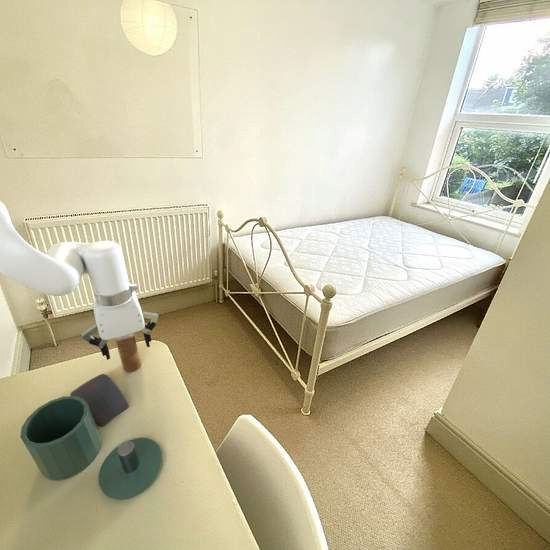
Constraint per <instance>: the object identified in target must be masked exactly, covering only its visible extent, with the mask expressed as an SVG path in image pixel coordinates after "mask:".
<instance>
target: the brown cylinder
mask: <svg viewBox="0 0 550 550" xmlns="http://www.w3.org/2000/svg"><path fill="white" fill-rule="evenodd" d="M114 339H115V344H116V348H117V352H118V354H119V358H120V362H121V365H122V369H123V371H124V372H126V373H133V372H137V371H138V370H139V369H140V368H141V366H142V361H141V356H140V352H139V349H138V345H137V340H136V336H135V333H131V334H128V335H124V336H121V337H117V338H114Z"/></svg>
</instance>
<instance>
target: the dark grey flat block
mask: <svg viewBox="0 0 550 550" xmlns="http://www.w3.org/2000/svg"><path fill="white" fill-rule="evenodd" d="M69 396H77V397H80V398H83V399H84V400H85V401H86V403H87V404H88V406H89V409H90V411H91V414H92V416H93V419H94V421H95V423H97V424H98V425H99V426H101V427H104V426H105V425H107V424H108V423H109V422H111V421H112V420H113V419H115V418H116V417H117V416H119V415H120V414H121V413H123V412H124V411H125V410H127V409H128V408H130V404H129V402H128V400H127V399H126V397H125V395H124V393H123V392H122V390H121V389H120V387H119V386H118V385H117V384H116V382H115V381H114V380H113V379H112V378H111V377H110V376H108V374H106V373H101V374H98V375H97V376H95V377H93V378H91V379H90V380H88V381H86V382H84V383H83V384H81V385H80V386H78V387H77V388H75V389H74V390H72V391H71V392H70V395H69Z"/></svg>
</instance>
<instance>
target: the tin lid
mask: <svg viewBox="0 0 550 550" xmlns="http://www.w3.org/2000/svg"><path fill="white" fill-rule="evenodd" d="M162 465H163V452H162V449H161V447H160V445H159V444H158V443H157V442H155V441H154V440H153V439H150V438H148V437H136V438H131V439H128V440H125V441H123V442H121V443H120V444H119V445H118V446H116V447H115V448H113V449H112V451H110V453H109V454H108V455H107V456H106V458H105V459H104V460H103V462H102V464H101V466H100V469H99V471H98V486H99V488H100V490H101V492H102V493H103V494H104V495H105V496H106V497H107V498H110V499H113V500H116V501H120V500H127V499H131V498H134V497H136V496H138V495H139V494H141V493H143V492H144V491H146V490H147V489H148V488H149V487H150V486H151V485H152V484H153V483H154V481H155V480H156V479H157V477H158V476H159V474H160V472H161V469H162Z"/></svg>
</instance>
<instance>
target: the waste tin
mask: <svg viewBox="0 0 550 550" xmlns="http://www.w3.org/2000/svg"><path fill="white" fill-rule="evenodd" d="M20 440H21V441H22V443H23V444H24V446H25V448H26V450H27V451H28V452H29V454H30V456H31V457H32V459H33V461H34V462H35V464H36V466H37V467H38V469H39V471H40V473H41V474H42V476H43V477H44V478H46V479H47V480H50V481H64V480H67V479H70V478H72V477H75V476H76V475H78V474H80V473H82V472H83V471H84V470H86V469H87V468H88V467H89V466H90V465H91V464H92V463H93V462H94V460H95V459H96V458H97V456H98V455H99V452H100V450H101V447H102V440H101V434H100V431H99V429H98V427H97V424H96V421H95V420H94V419H93V416H92V414H91V411H90V409H89V406H88V404H87V403H86V401H85V400H84V399H83V398H80V397H77V396H71V395H65V396H61V397H57V398H55V399H52V400H50V401H47V402H46V403H44V404H43V405H40V406H39V407H37V408H36V409H35V410H34V411H33V412H32V413H31V414H30V415H29V416H28V417H27V418H26V419H25V422H24V423H23V425H22V426H21V430H20Z"/></svg>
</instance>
